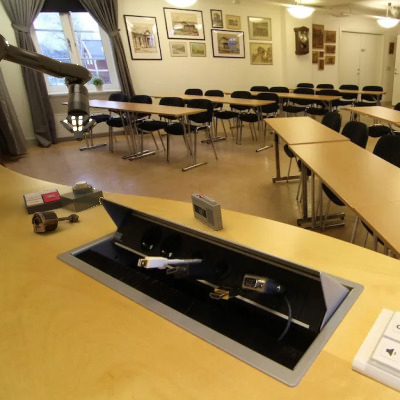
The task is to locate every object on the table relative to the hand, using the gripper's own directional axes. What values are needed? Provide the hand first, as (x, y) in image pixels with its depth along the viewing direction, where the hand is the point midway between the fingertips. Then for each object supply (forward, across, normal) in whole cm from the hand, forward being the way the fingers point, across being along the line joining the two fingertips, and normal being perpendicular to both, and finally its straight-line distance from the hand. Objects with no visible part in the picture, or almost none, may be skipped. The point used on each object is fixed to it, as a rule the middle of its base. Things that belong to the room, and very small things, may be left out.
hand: (78, 140), depth 131 cm
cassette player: (+51, +44, -17) cm, 69 cm away
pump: (+20, 0, +4) cm, 20 cm away
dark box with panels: (+22, -15, +12) cm, 29 cm away
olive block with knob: (+26, -1, +7) cm, 27 cm away
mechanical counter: (+40, -4, -6) cm, 41 cm away
